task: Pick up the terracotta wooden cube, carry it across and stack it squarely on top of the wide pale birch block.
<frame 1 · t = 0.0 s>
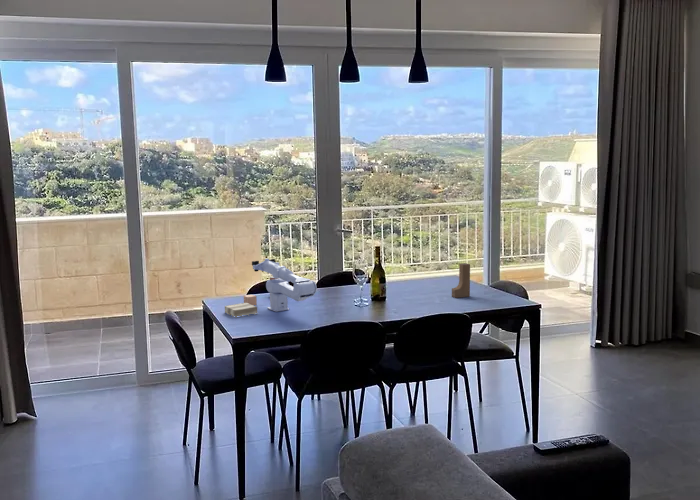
hand: (258, 262, 358), 22 cm above the table, tool horizontal, fingers open, 7 cm apart
white rounded block: (278, 295, 377), on the table
wooden block: (460, 297, 367), on the table
birch base block: (241, 314, 337), on the table
terracotta cube: (250, 305, 355), on the table
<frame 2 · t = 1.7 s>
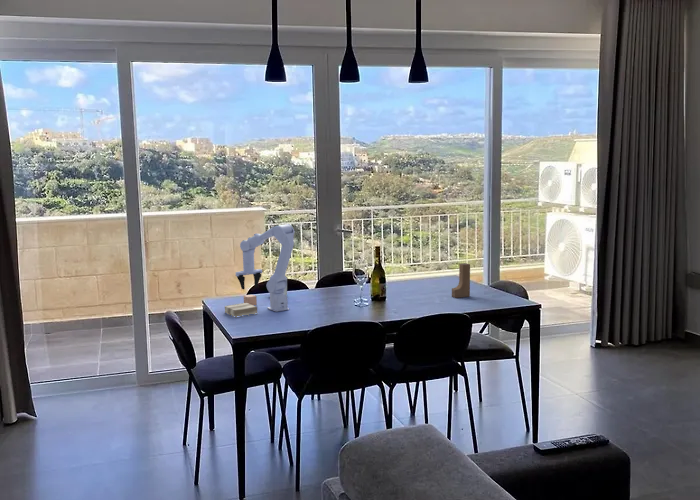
hand: (249, 288, 354), 9 cm above the table, tool pointing down, fingers open, 7 cm apart
nothing on the table moved.
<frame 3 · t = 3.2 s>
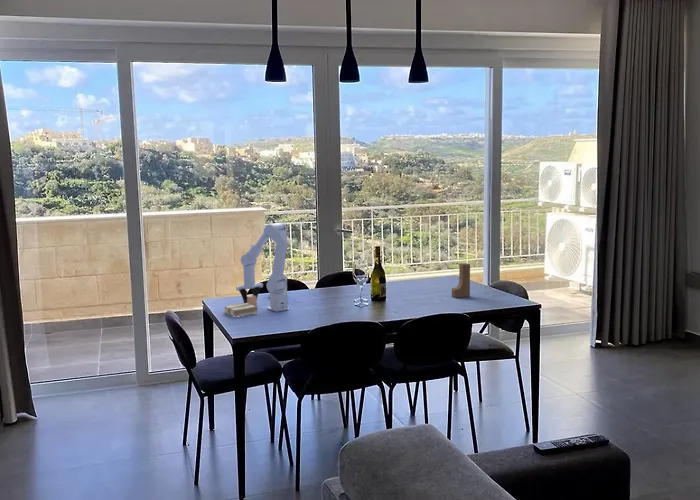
hand: (250, 302, 355), 1 cm above the table, tool pointing down, fingers closed on terracotta cube, 5 cm apart
terracotta cube: (250, 304, 355), on the table, touching gripper
everything else where it was.
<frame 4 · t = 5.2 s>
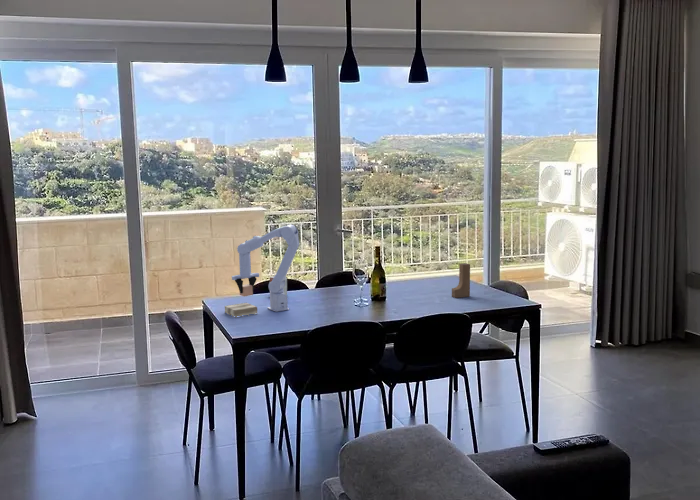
hand: (246, 292, 347), 8 cm above the table, tool pointing down, fingers closed on terracotta cube, 5 cm apart
terracotta cube: (246, 294, 347), point 7 cm above the table, touching gripper
everything else where it was.
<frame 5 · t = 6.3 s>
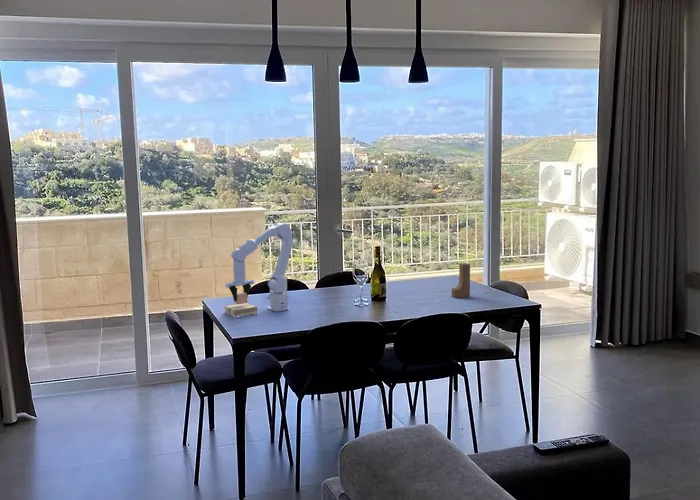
hand: (240, 299, 336), 7 cm above the table, tool pointing down, fingers closed on terracotta cube, 5 cm apart
terracotta cube: (240, 302, 336), point 5 cm above the table, touching gripper
everything else where it was.
when the fingers open (7 cm above the table, at t = 7.1 s): terracotta cube drops 2 cm, point 3 cm above the table.
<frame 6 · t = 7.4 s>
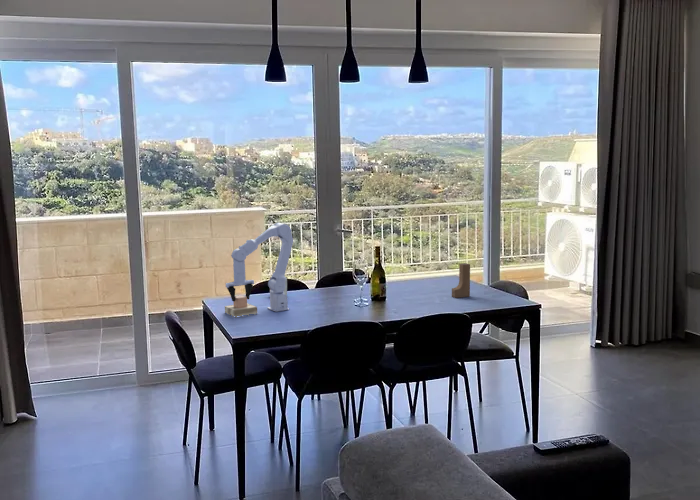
hand: (240, 299, 336), 7 cm above the table, tool pointing down, fingers open, 7 cm apart
terracotta cube: (240, 306, 337), point 3 cm above the table
everything else where it was.
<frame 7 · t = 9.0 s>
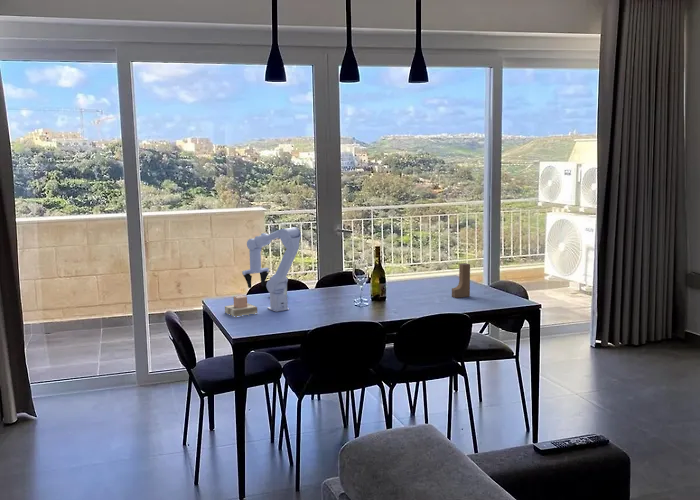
hand: (256, 286, 352), 10 cm above the table, tool pointing down, fingers open, 7 cm apart
birch base block: (241, 314, 337), on the table, touching terracotta cube
terracotta cube: (240, 306, 337), point 4 cm above the table, touching birch base block
everything else where it was.
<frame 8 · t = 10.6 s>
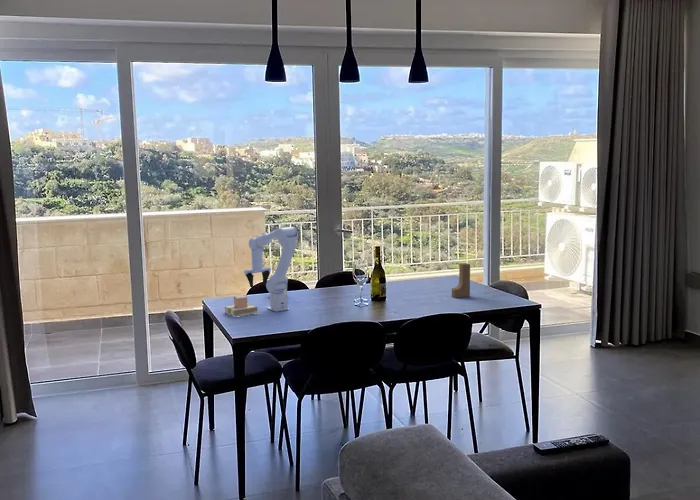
hand: (258, 286, 354), 10 cm above the table, tool pointing down, fingers open, 7 cm apart
nothing on the table moved.
at the end: terracotta cube 0.1 cm off-centre on the birch base block, point 4.0 cm above the birch base block's base; terracotta cube tilted 0°; the gripper is holding nothing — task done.
